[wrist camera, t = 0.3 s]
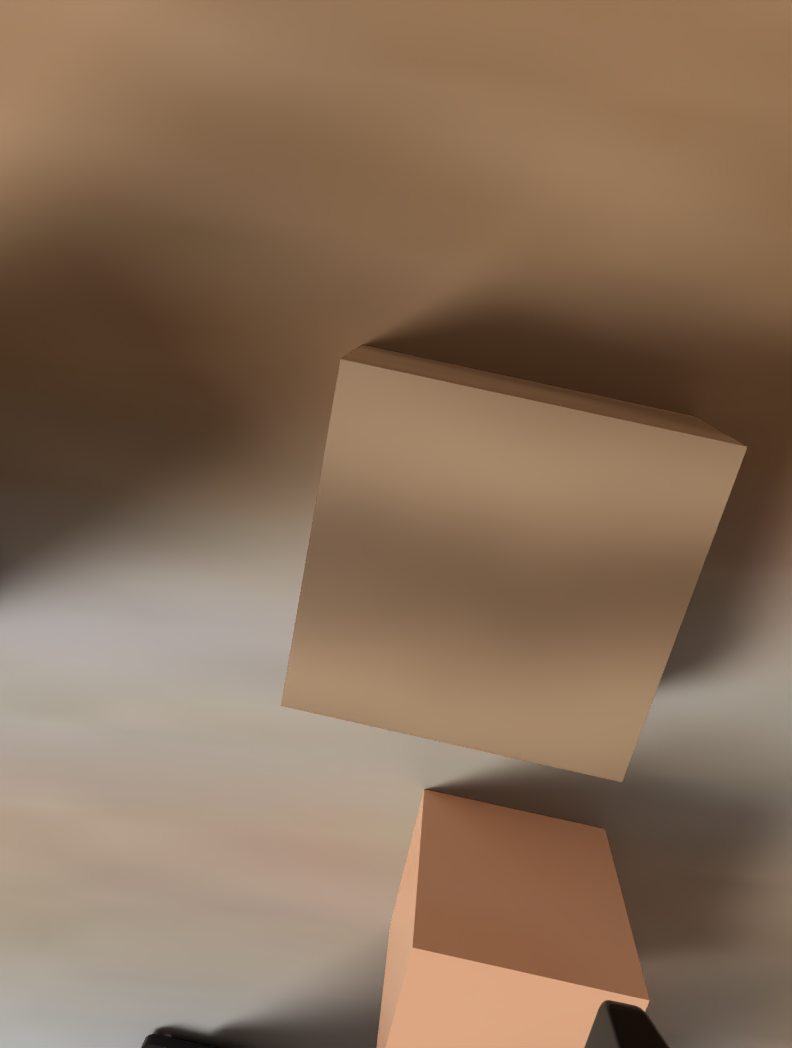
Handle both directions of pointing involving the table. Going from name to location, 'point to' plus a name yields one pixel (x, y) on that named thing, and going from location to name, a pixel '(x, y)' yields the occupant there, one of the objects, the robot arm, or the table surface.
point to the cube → (504, 932)
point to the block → (501, 559)
